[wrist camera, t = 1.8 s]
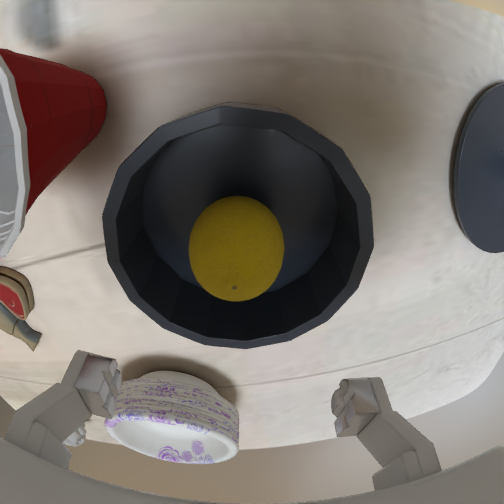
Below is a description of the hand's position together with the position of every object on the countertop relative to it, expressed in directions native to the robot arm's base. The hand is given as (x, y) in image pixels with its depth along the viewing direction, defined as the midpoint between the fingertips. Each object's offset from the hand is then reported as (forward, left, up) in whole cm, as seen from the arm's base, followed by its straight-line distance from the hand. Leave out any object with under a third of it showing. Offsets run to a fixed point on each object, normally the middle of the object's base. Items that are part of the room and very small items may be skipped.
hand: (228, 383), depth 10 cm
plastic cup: (-7, -13, -14) cm, 20 cm away
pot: (0, 0, -14) cm, 14 cm away
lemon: (0, 0, -14) cm, 14 cm away
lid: (-9, +24, -13) cm, 29 cm away
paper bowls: (+24, -5, -14) cm, 28 cm away
